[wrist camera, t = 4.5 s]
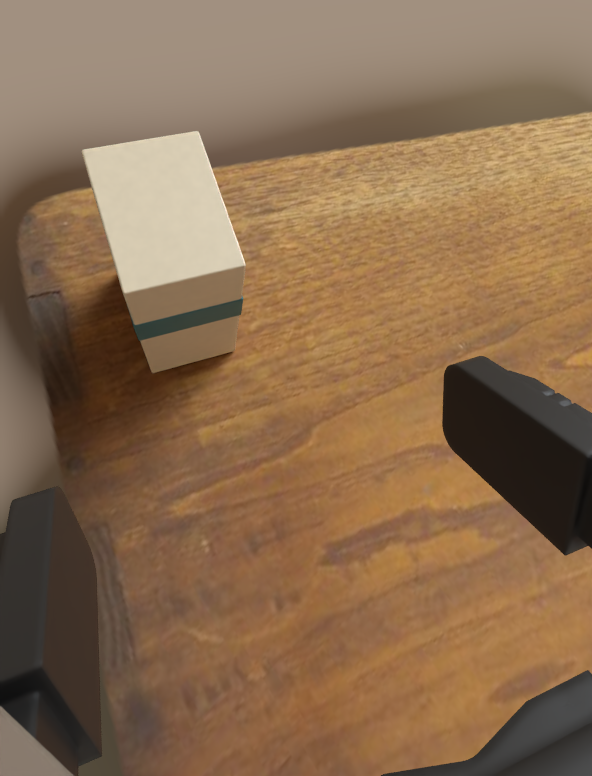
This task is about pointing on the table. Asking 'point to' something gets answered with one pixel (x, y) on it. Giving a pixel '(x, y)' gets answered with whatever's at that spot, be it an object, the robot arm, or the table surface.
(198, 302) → the box
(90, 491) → the table surface
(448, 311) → the table surface
